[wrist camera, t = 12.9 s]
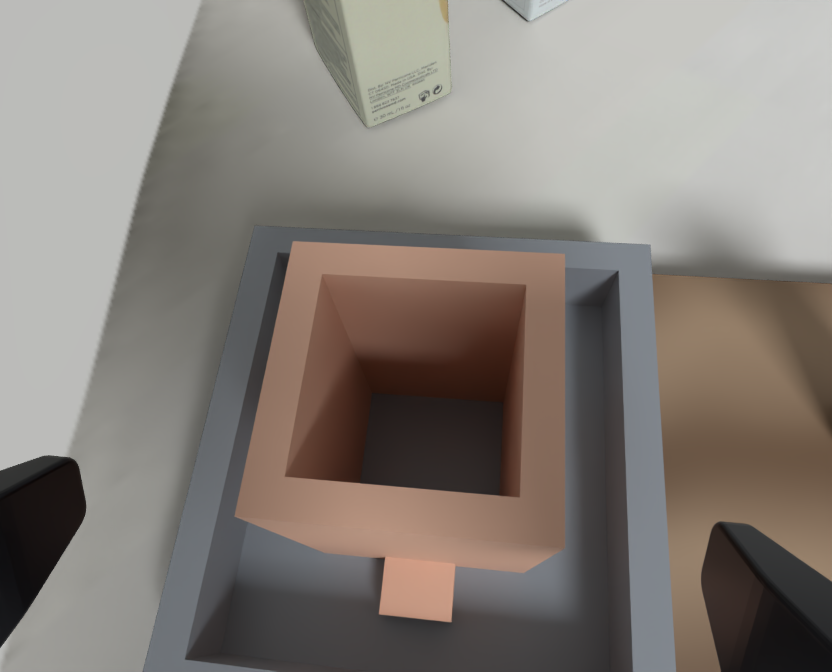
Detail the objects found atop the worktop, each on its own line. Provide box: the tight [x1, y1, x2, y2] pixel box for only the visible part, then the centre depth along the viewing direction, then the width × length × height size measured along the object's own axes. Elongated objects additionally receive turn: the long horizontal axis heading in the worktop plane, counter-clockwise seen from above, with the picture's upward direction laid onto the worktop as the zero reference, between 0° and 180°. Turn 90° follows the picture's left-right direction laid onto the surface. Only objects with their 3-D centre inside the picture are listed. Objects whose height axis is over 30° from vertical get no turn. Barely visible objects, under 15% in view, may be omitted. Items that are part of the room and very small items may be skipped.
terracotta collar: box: [234, 241, 565, 622], centre depth 15 cm, size 8×6×8 cm
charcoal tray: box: [143, 226, 676, 672], centre depth 19 cm, size 14×13×3 cm
